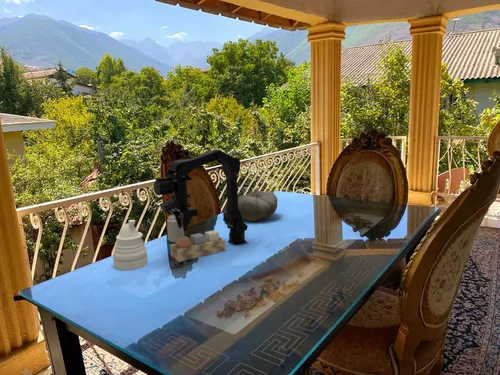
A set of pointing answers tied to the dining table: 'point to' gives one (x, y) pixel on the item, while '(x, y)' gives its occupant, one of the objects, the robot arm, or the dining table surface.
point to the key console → (197, 250)
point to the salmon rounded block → (182, 242)
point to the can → (173, 229)
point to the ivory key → (211, 236)
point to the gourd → (257, 205)
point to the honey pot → (129, 248)
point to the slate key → (197, 239)
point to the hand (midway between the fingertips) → (182, 229)
